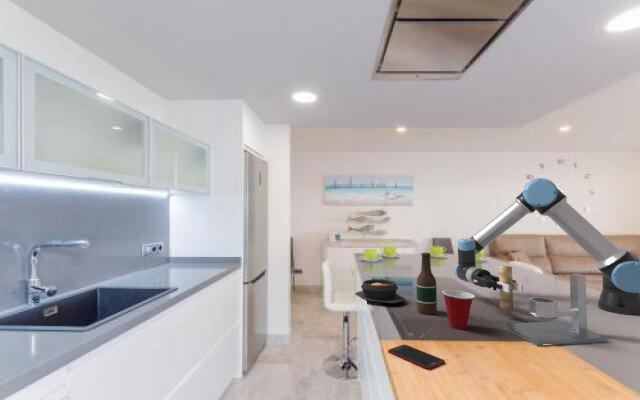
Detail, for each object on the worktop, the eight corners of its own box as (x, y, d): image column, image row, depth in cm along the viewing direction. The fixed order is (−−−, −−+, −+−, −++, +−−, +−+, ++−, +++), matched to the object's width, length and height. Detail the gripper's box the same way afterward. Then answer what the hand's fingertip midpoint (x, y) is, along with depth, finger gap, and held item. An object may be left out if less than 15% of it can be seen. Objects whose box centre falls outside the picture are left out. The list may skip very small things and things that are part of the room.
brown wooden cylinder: (508, 307, 135) (507, 265, 135) (516, 310, 130) (514, 267, 131) (497, 307, 134) (496, 266, 135) (505, 310, 130) (503, 267, 130)
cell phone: (404, 347, 106) (404, 343, 106) (446, 364, 94) (446, 360, 94) (386, 353, 102) (386, 349, 102) (428, 372, 90) (428, 368, 90)
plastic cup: (478, 332, 117) (478, 296, 117) (445, 330, 119) (444, 295, 119) (471, 322, 128) (470, 289, 128) (440, 320, 130) (440, 288, 130)
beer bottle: (436, 310, 143) (435, 252, 144) (436, 315, 136) (435, 254, 137) (417, 308, 146) (416, 251, 146) (416, 314, 138) (415, 253, 139)
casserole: (414, 302, 156) (414, 283, 156) (387, 310, 144) (387, 289, 145) (372, 292, 175) (372, 275, 176) (346, 298, 164) (345, 280, 164)
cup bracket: (565, 325, 124) (563, 270, 124) (607, 342, 108) (605, 279, 109) (502, 328, 121) (501, 272, 122) (536, 346, 105) (534, 281, 106)
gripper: (498, 284, 151) (537, 297, 128) (460, 286, 149) (493, 300, 126) (497, 267, 152) (536, 277, 128) (459, 268, 150) (493, 279, 126)
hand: (515, 288), depth 127 cm, fingers closed on brown wooden cylinder, 4 cm apart
